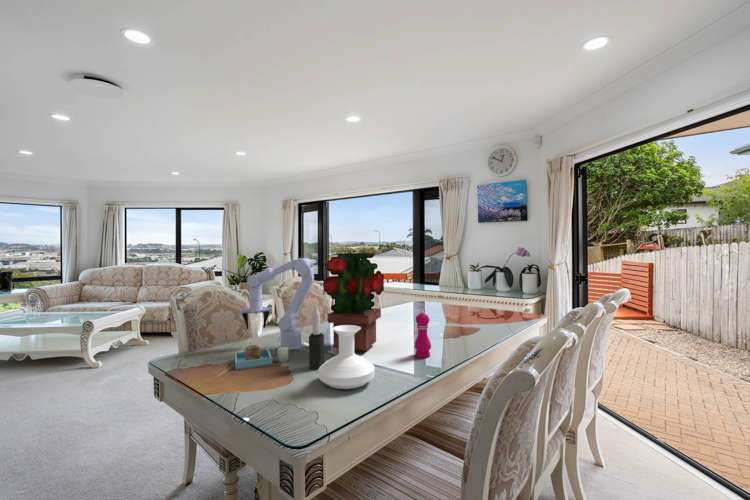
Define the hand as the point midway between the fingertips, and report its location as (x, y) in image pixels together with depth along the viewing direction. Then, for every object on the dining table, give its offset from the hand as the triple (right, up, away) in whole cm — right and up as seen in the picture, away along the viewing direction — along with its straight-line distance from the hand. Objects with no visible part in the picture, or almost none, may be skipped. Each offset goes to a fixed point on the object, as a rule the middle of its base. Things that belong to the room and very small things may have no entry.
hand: (256, 327), depth 169 cm
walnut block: (+6, -9, -22) cm, 25 cm away
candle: (+34, -10, -29) cm, 46 cm away
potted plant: (+48, -9, -3) cm, 49 cm away
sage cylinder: (+18, -9, -19) cm, 28 cm away
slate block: (+10, -10, -11) cm, 18 cm away
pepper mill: (+78, -9, -16) cm, 80 cm away
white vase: (+47, -10, -45) cm, 66 cm away
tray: (+6, -10, -22) cm, 25 cm away
